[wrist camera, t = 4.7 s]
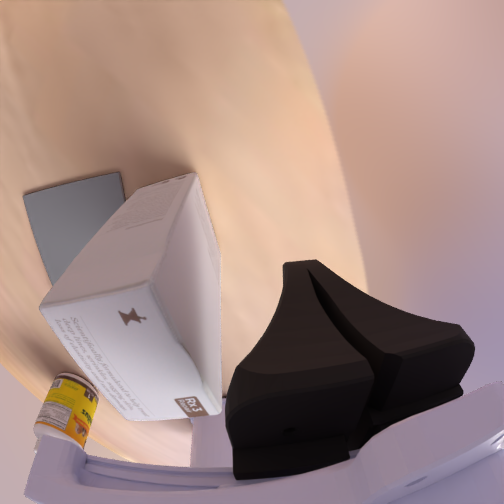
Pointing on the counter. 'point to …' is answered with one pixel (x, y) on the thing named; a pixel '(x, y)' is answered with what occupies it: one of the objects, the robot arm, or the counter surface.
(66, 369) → the counter surface
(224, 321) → the counter surface
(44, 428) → the supplement bottle
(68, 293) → the skincare box
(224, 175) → the counter surface
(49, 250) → the mat
